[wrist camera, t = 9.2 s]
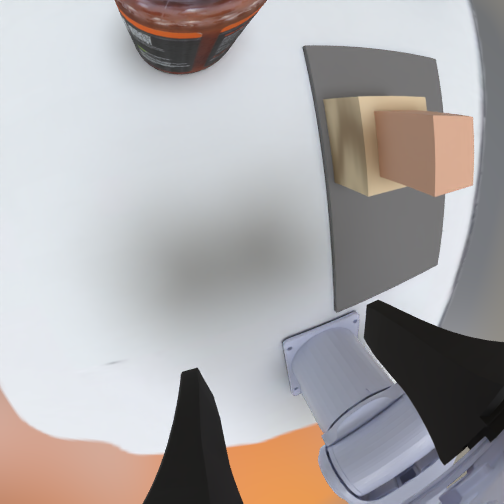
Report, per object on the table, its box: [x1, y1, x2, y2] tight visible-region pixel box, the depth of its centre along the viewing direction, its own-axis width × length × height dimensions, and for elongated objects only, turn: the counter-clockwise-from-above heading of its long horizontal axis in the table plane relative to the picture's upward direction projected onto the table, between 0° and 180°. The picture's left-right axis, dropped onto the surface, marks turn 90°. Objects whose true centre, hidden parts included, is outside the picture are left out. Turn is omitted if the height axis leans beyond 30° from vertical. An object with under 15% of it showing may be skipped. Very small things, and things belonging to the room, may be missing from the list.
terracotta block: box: [374, 110, 474, 197], centre depth 13 cm, size 4×4×4 cm
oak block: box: [323, 96, 427, 197], centre depth 16 cm, size 6×6×4 cm
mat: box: [303, 46, 445, 313], centre depth 21 cm, size 22×14×1 cm, turn 11°
